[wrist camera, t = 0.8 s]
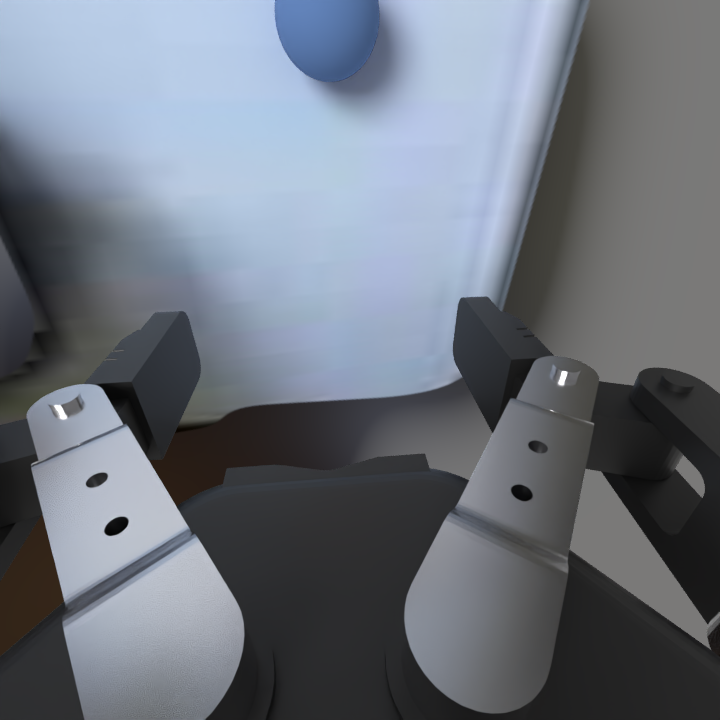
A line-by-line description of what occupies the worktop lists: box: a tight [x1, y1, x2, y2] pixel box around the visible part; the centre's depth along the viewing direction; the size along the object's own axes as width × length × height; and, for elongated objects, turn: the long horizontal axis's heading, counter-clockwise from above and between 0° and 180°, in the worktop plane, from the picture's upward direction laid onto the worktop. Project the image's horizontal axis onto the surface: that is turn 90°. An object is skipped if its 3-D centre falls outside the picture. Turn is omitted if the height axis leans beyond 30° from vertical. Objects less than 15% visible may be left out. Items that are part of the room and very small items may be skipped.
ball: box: [275, 0, 379, 82], centre depth 21 cm, size 6×6×6 cm
